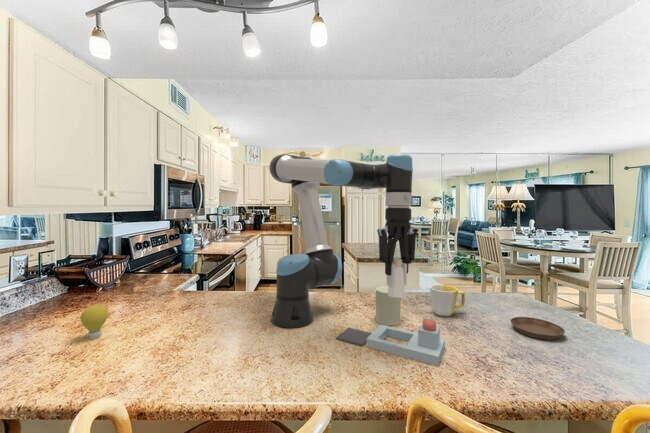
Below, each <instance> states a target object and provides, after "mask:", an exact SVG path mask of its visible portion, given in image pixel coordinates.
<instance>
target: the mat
mask: <svg viewBox="0 0 650 433" xmlns="http://www.w3.org/2000/svg"><path fill="white" fill-rule="evenodd" d="M372 333H373V332H370V331H369V332H368V331H365V330H360V329H357V328H352V327H347V328H346V329H345V330H344V331H342V332H341V333H340V334H338V335H337V336H336V337H335V340H337V341H341V342H345V343H348V344H351V345H352V344H353V345H356V346H359V347H364V346H365V345H367V338H368V337H369V336H370V335H371V334H372Z"/></svg>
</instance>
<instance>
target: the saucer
mask: <svg viewBox="0 0 650 433" xmlns="http://www.w3.org/2000/svg"><path fill="white" fill-rule="evenodd" d="M510 323H511V325H512V326H513V327H514V328H515V330H517V331H518V332H519V333H520V334H522V335H525V336H527V337H530V338H534V339H538V338H539V340H545V339H547V341H552V340H551V339H553V340H556V339H559V338H560V337H562V336H563V335H565V333H566V330H565V329H564V328H563V327H561V326H560V325H559V324H556V323H554V322H550V321H548V320H546V319H545V320H544V319H542V318H535V317H527V316H515V317H512V318H511V319H510Z"/></svg>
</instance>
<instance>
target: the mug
mask: <svg viewBox="0 0 650 433" xmlns="http://www.w3.org/2000/svg"><path fill="white" fill-rule="evenodd" d="M429 290H430V297H431V306H432V311H433V312H434V313H435V314H436V315H437V316H441V317H450V316H452V315H453V314H454V313H455V310H456V309H460V308H464V306H465V302H466V296H465V295H466V294H465V292H464V291H461V290H459V289H458V287H455V286H452V285H448V284H442V283H438V284H431V285H430V286H429ZM459 294H460V295H461V302H460V304H459V305H458V304H457V305H456V303H457V298H458V295H459Z"/></svg>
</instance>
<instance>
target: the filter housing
mask: <svg viewBox="0 0 650 433" xmlns="http://www.w3.org/2000/svg"><path fill="white" fill-rule="evenodd" d="M371 333H372V334H371V335H370V336H369V337H368V338H367V343H366V348H368V349H369V348H370V349H374V350H377V351H381V352H384V353H388V354H392V355H395V356H398V357H399V356H400V357H403V358H407V359H411V360H414V361H418V362H422V363H426V364H429V365H432V366H437V367H439V365H440V362H441V359H442V356H443V354H444V351H445V348H446V339H445V338H442V337H441V327H439V326H436V330H435V331H427V330H424V329H423V323H421V325H420V326H419V327H418V329H417V332H414V331H410V330H406V329H402V328H397V327H393V326H388V325H382V324H379V325H378V326H377V328H376V329H374V331H372V332H371ZM386 337H389V338H393V339H398V340H402V341H406V342H408V343H407V344H401V343H397V342H394V341H389V340H386V339H385V338H386Z"/></svg>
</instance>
